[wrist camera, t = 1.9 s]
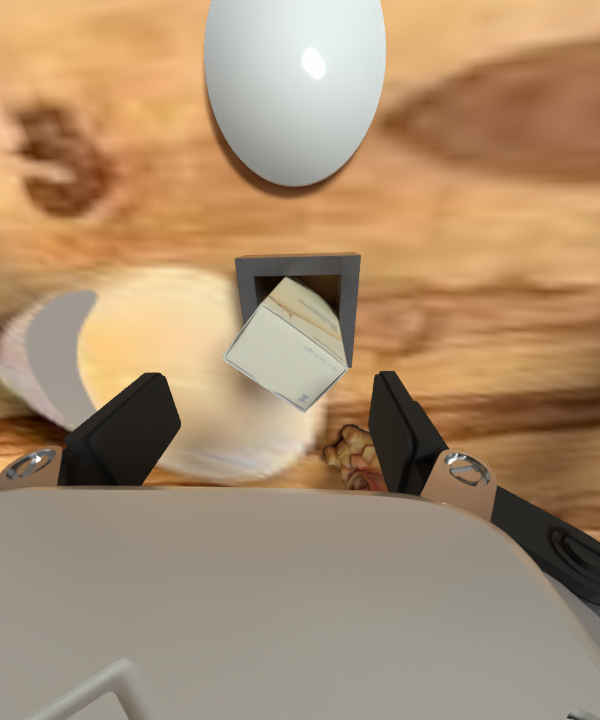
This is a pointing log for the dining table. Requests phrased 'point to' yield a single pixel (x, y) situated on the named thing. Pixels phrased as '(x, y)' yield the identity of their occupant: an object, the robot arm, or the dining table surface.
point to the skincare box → (291, 345)
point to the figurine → (356, 460)
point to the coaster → (294, 82)
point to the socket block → (304, 264)
